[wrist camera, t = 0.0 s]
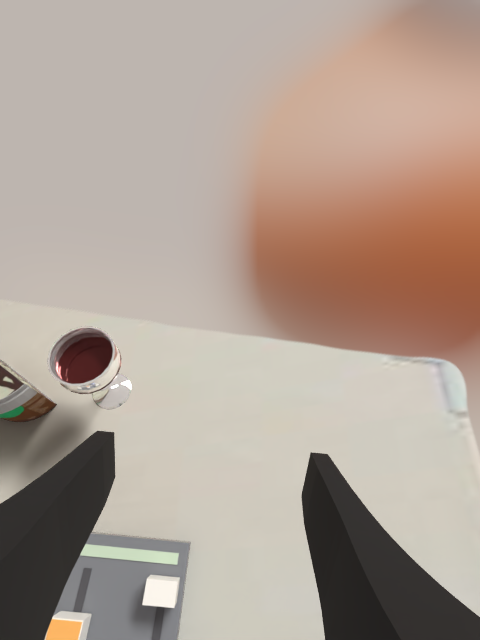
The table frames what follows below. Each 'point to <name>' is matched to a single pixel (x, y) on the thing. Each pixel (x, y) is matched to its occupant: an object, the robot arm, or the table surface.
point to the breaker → (161, 591)
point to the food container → (20, 397)
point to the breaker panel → (125, 586)
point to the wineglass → (90, 366)
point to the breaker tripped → (68, 626)
